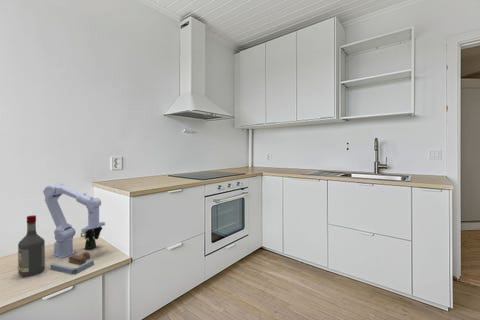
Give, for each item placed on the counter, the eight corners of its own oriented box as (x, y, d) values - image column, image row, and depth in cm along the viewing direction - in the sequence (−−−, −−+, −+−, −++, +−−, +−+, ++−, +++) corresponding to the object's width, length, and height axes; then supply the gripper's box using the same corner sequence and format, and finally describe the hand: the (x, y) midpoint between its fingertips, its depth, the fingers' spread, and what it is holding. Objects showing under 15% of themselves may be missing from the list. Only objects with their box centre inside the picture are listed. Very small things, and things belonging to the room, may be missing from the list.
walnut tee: (82, 256, 140) (82, 251, 140) (93, 259, 137) (93, 253, 137) (69, 262, 132) (68, 256, 132) (80, 265, 130) (80, 259, 129)
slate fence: (50, 269, 125) (50, 264, 125) (71, 259, 136) (71, 255, 136) (73, 274, 120) (73, 270, 120) (93, 264, 131) (93, 260, 131)
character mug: (79, 251, 147) (79, 231, 146) (82, 247, 153) (82, 228, 153) (99, 249, 151) (99, 229, 151) (100, 245, 158) (100, 226, 157)
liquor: (39, 266, 127) (38, 213, 126) (46, 271, 123) (45, 215, 122) (17, 273, 119) (16, 216, 118) (23, 279, 115) (23, 219, 114)
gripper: (87, 222, 134) (87, 245, 134) (108, 216, 147) (108, 236, 148) (78, 221, 136) (78, 243, 136) (100, 214, 149) (100, 235, 150)
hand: (93, 240), depth 142 cm, fingers open, 3 cm apart
